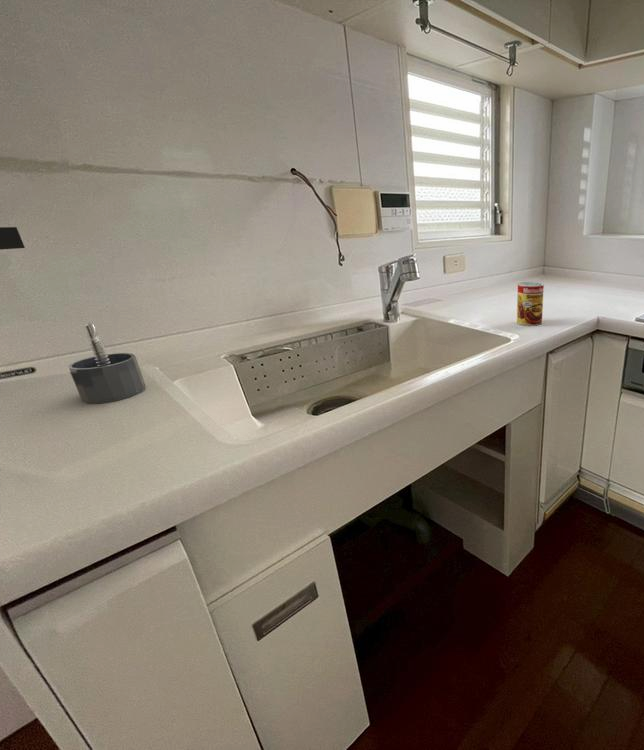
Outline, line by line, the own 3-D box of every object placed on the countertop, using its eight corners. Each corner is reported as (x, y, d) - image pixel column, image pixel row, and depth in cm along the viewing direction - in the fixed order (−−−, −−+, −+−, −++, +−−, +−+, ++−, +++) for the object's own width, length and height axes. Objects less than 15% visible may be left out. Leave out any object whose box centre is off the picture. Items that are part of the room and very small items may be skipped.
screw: (133, 384, 77) (128, 392, 74) (99, 389, 75) (93, 398, 71) (109, 318, 73) (103, 323, 69) (72, 321, 70) (64, 327, 66)
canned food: (526, 327, 121) (528, 286, 117) (512, 321, 127) (512, 283, 123) (547, 323, 125) (549, 284, 120) (531, 318, 131) (533, 281, 127)
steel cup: (69, 400, 72) (54, 366, 69) (124, 382, 80) (112, 351, 77) (104, 406, 70) (90, 371, 67) (157, 387, 77) (146, 355, 75)
